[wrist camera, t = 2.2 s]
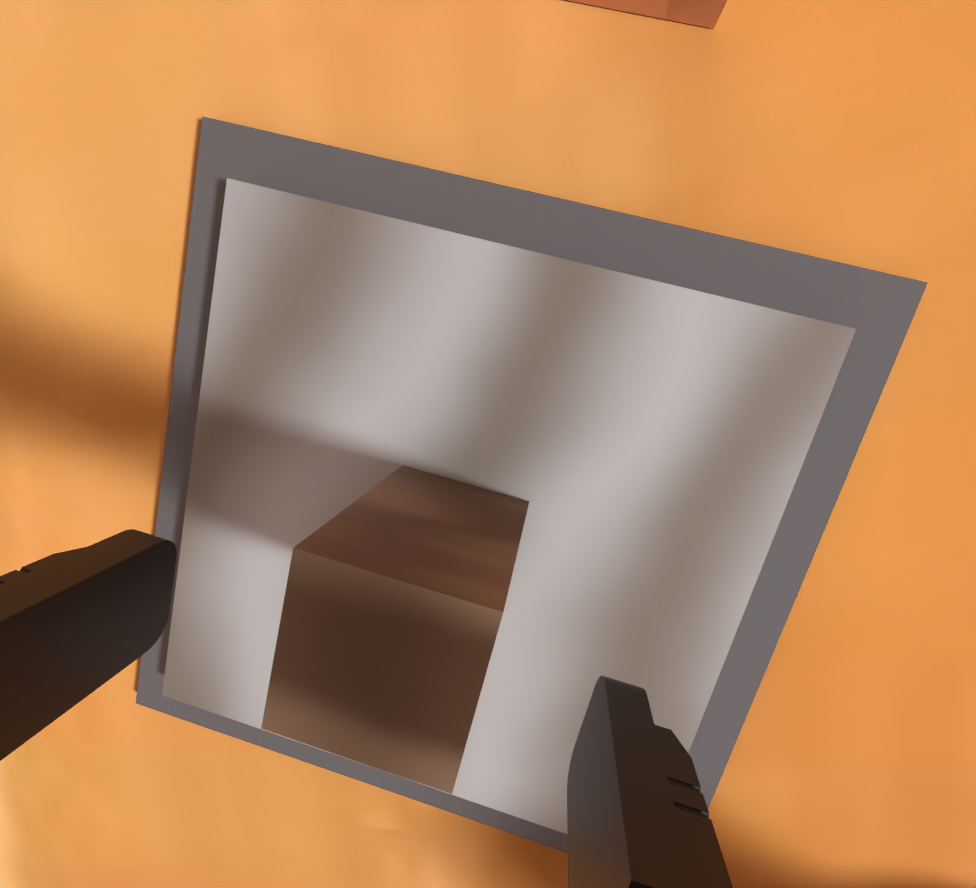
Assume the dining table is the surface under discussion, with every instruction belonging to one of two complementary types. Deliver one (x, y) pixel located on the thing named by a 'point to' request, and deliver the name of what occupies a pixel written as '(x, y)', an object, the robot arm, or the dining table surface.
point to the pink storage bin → (668, 9)
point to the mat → (581, 238)
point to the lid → (472, 493)
